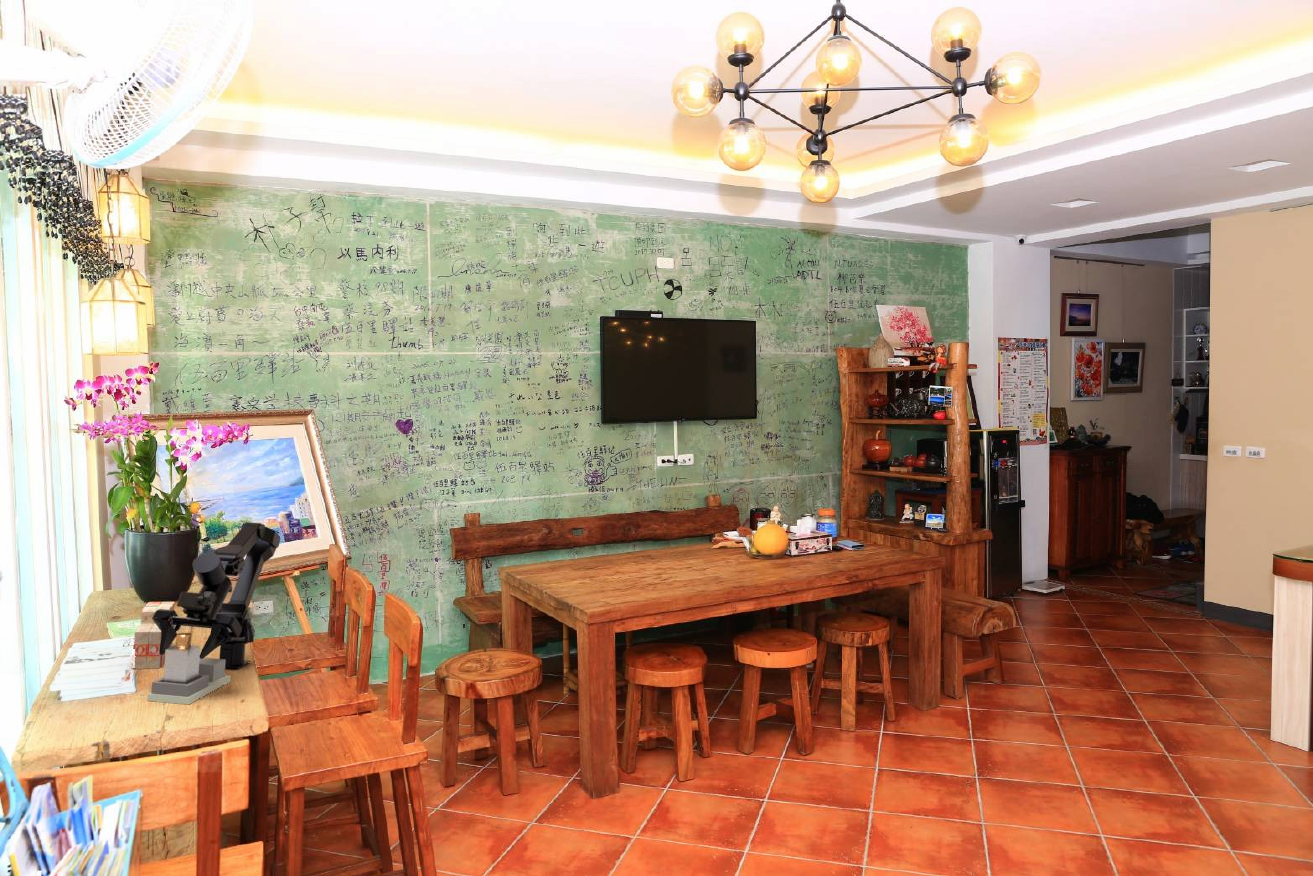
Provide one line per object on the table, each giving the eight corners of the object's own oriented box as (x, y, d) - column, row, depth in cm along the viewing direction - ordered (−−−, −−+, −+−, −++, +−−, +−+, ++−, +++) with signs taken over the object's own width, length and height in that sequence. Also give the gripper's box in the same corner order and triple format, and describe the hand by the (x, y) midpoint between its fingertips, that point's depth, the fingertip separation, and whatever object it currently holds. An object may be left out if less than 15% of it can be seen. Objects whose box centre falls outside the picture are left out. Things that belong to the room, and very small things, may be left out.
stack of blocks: (160, 669, 218) (163, 619, 217) (131, 670, 215) (134, 619, 215) (172, 646, 237) (175, 600, 237) (145, 647, 235) (148, 601, 235)
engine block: (176, 685, 201) (179, 630, 201) (197, 687, 201) (201, 632, 201) (162, 692, 196) (166, 636, 196) (184, 694, 196) (188, 638, 196)
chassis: (191, 679, 211) (193, 656, 211) (230, 682, 211) (231, 659, 211) (147, 700, 194) (148, 675, 194) (188, 704, 194) (190, 679, 194)
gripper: (159, 574, 203) (125, 633, 192) (238, 580, 202) (208, 640, 191) (177, 601, 211) (145, 659, 200) (253, 608, 210) (225, 667, 199)
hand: (180, 656), depth 198 cm, fingers open, 9 cm apart
